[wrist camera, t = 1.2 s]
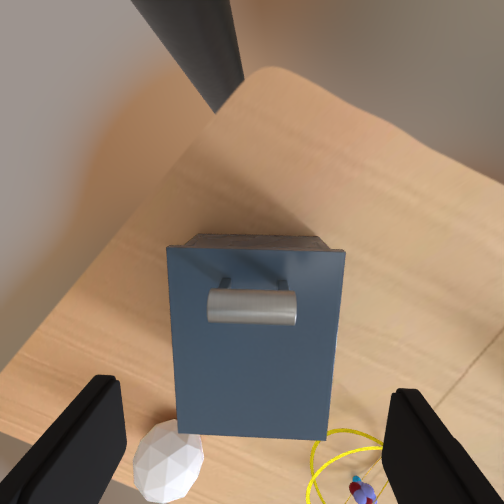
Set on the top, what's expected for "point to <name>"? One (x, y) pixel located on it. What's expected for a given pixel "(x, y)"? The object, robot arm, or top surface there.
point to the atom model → (357, 488)
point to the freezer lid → (254, 339)
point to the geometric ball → (167, 462)
